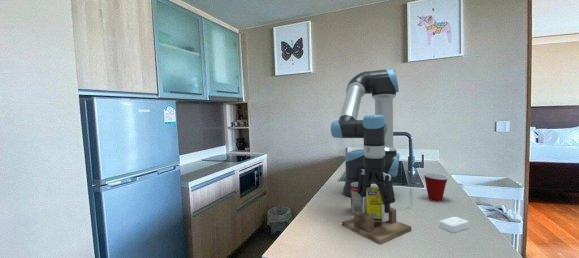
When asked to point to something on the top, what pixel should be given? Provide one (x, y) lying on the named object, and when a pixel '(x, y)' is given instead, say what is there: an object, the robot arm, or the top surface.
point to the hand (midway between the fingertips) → (375, 216)
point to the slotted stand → (377, 226)
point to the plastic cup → (435, 185)
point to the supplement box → (374, 203)
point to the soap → (454, 224)
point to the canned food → (356, 199)
